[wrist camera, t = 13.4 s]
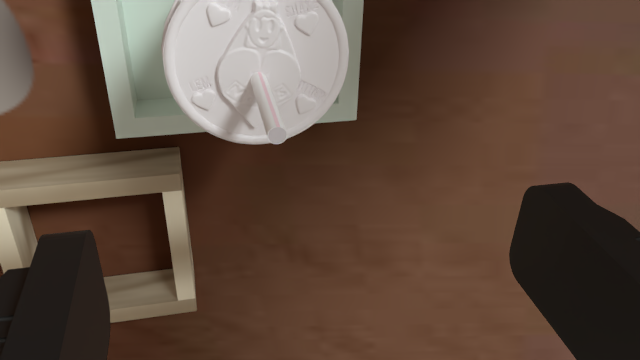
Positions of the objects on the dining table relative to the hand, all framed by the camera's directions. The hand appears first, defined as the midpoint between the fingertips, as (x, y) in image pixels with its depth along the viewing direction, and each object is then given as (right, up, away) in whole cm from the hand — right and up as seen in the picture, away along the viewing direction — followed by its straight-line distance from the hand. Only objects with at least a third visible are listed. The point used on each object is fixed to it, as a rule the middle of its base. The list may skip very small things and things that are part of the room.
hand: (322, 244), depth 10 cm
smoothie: (-4, +10, +17) cm, 20 cm away
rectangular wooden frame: (-13, -1, +22) cm, 26 cm away
